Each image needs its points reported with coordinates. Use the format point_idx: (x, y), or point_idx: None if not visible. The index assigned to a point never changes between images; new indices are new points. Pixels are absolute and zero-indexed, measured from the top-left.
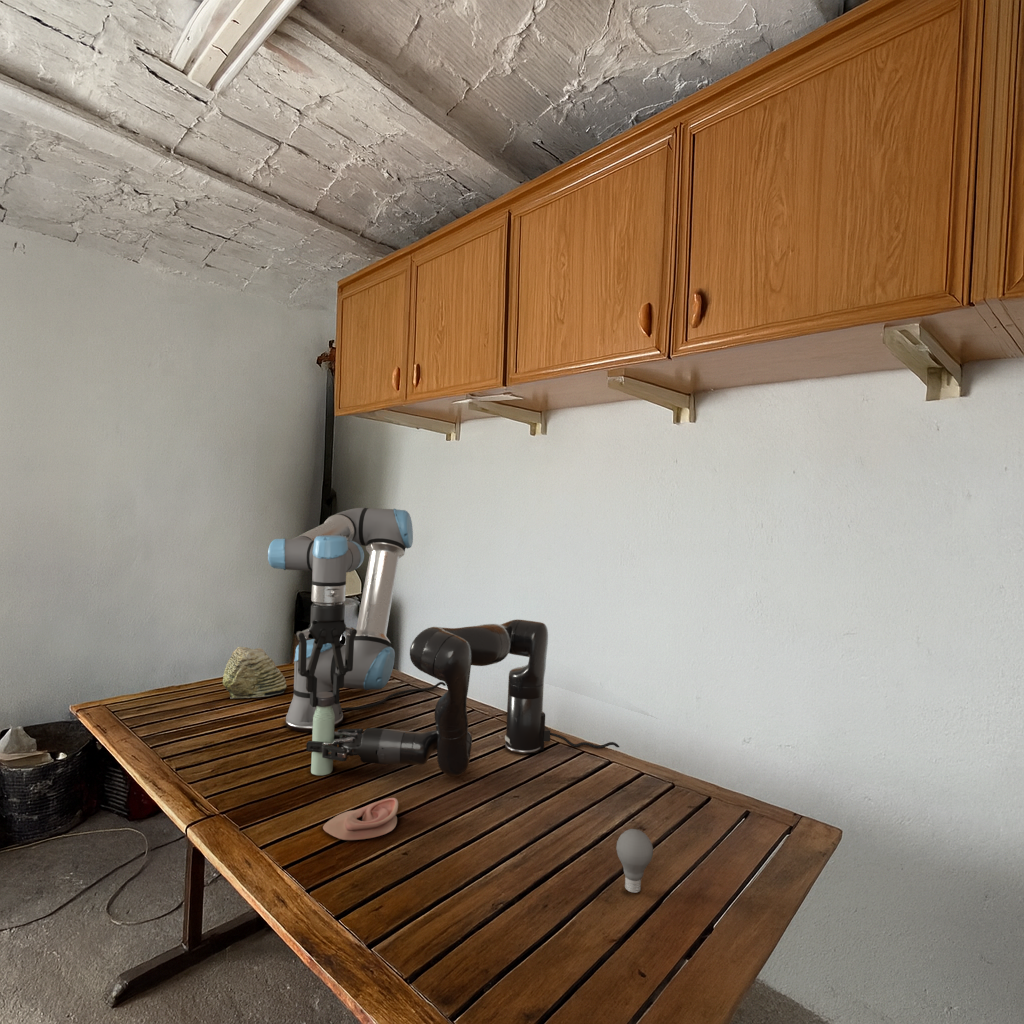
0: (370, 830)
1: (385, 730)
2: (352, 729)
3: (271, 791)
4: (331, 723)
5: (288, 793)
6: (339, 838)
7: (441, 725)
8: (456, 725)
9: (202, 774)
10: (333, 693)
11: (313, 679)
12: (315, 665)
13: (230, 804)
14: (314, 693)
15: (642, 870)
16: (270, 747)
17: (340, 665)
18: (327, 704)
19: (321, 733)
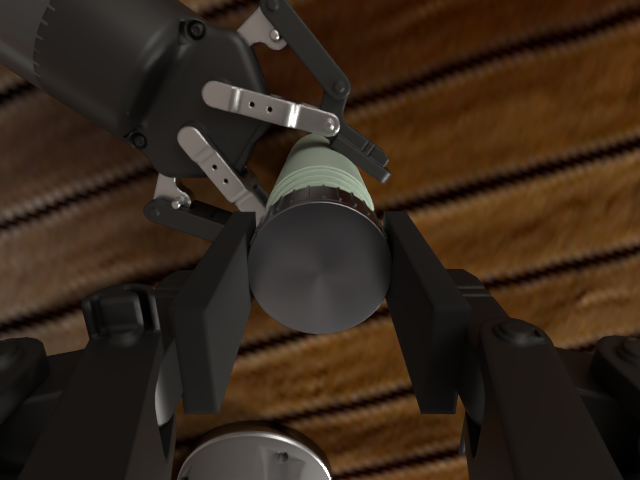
0: None
1: (30, 8)
2: (187, 225)
3: (496, 88)
4: (292, 168)
5: (457, 48)
6: None
7: None
8: None
9: (611, 283)
10: (255, 275)
11: (466, 310)
12: (525, 438)
13: (627, 51)
14: (418, 243)
15: None
16: (404, 375)
17: (108, 404)
18: (318, 187)
19: (340, 158)
